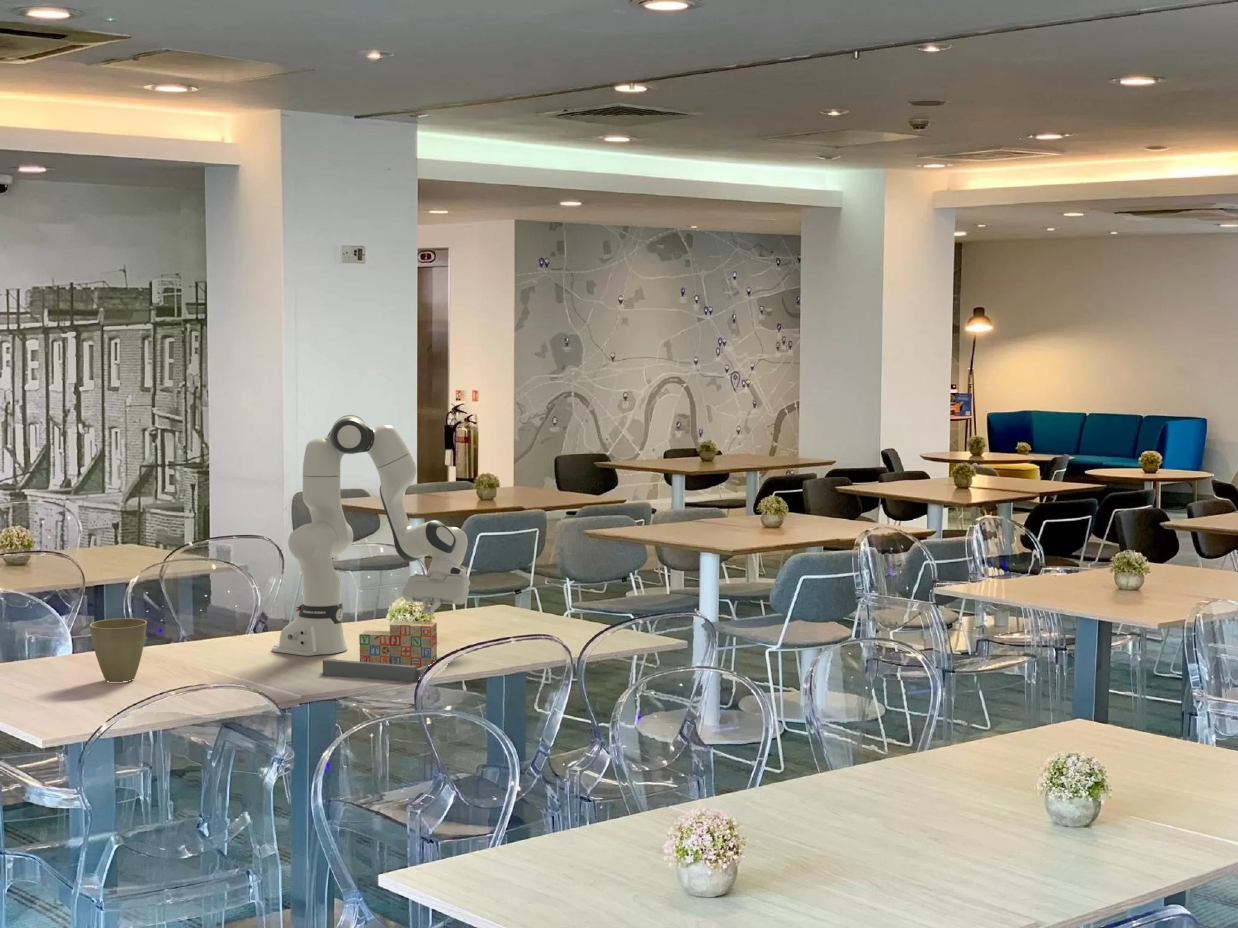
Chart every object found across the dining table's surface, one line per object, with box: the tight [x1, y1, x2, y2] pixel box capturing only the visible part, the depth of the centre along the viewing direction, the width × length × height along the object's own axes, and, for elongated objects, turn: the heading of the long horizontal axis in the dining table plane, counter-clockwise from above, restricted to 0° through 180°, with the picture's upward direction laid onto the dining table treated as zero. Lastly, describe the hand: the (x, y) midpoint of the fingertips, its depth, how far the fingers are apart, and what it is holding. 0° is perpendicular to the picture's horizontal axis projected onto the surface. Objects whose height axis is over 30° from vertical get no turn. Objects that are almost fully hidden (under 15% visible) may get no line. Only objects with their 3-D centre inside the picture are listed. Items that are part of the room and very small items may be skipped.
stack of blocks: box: [358, 620, 438, 668], centre depth 443 cm, size 21×6×12 cm, turn 81°
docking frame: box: [322, 658, 429, 683], centre depth 428 cm, size 30×7×4 cm, turn 70°
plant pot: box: [89, 617, 148, 682], centre depth 421 cm, size 15×15×16 cm
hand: (427, 612), depth 458 cm, fingers closed
